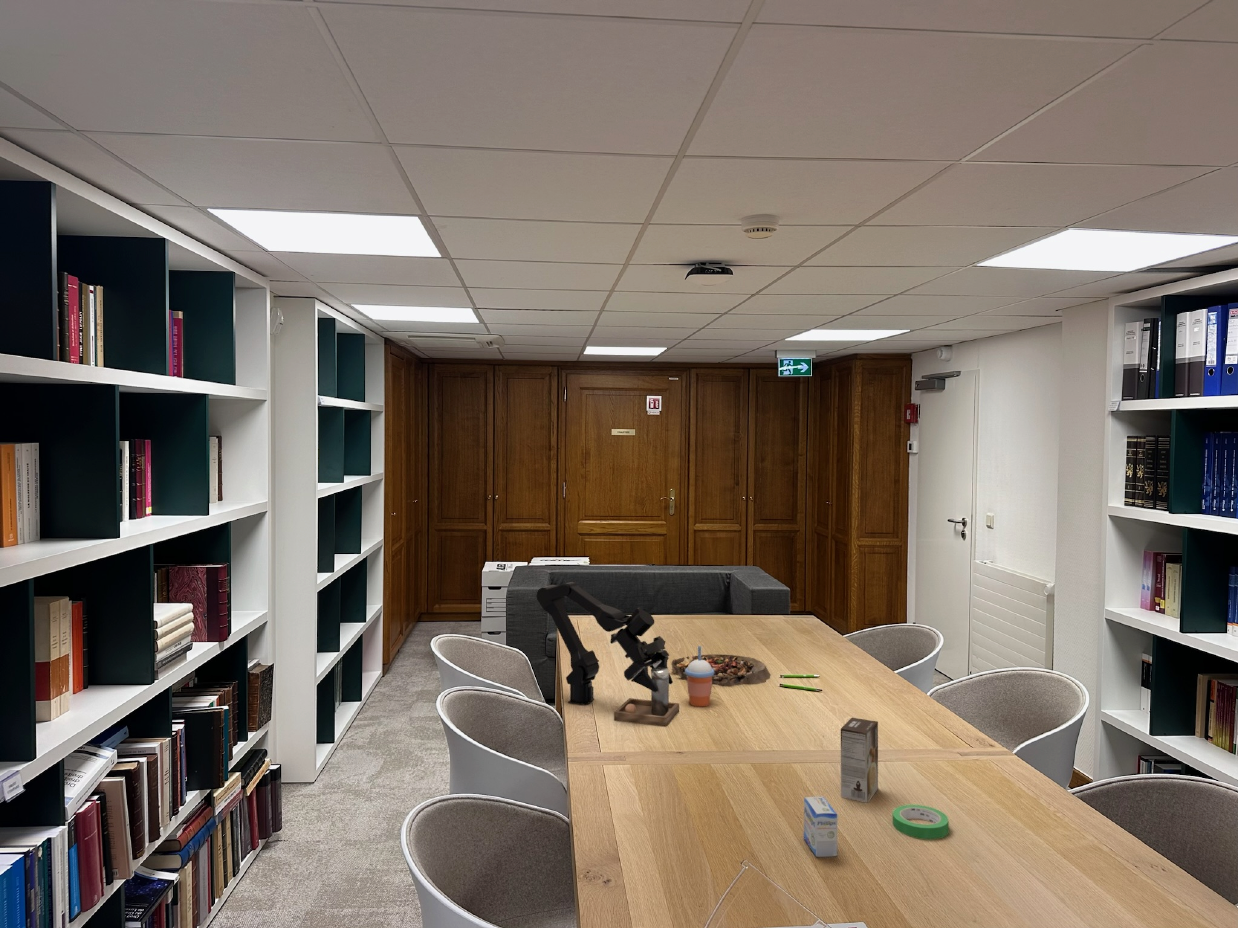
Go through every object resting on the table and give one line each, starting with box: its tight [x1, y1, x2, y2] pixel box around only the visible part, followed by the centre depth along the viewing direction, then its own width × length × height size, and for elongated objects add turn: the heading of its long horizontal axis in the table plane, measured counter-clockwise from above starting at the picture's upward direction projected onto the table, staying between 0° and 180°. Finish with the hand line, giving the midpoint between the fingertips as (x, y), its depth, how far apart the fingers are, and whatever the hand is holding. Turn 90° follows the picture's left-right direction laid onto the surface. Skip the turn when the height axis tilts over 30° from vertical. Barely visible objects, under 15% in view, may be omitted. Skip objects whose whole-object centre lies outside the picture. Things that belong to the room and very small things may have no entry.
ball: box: [625, 704, 636, 713], centre depth 240 cm, size 3×3×3 cm
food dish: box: [670, 653, 772, 687], centre depth 287 cm, size 35×33×8 cm
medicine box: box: [803, 796, 838, 858], centre depth 162 cm, size 8×4×9 cm, turn 5°
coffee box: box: [840, 717, 879, 804], centre depth 187 cm, size 9×6×16 cm
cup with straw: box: [685, 645, 714, 707], centre depth 253 cm, size 9×9×18 cm
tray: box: [613, 697, 680, 727], centre depth 242 cm, size 16×14×2 cm
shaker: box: [650, 667, 670, 716], centre depth 241 cm, size 5×5×13 cm
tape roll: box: [892, 804, 950, 840], centre depth 171 cm, size 11×11×3 cm
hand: (664, 687), depth 240 cm, fingers open, 9 cm apart
